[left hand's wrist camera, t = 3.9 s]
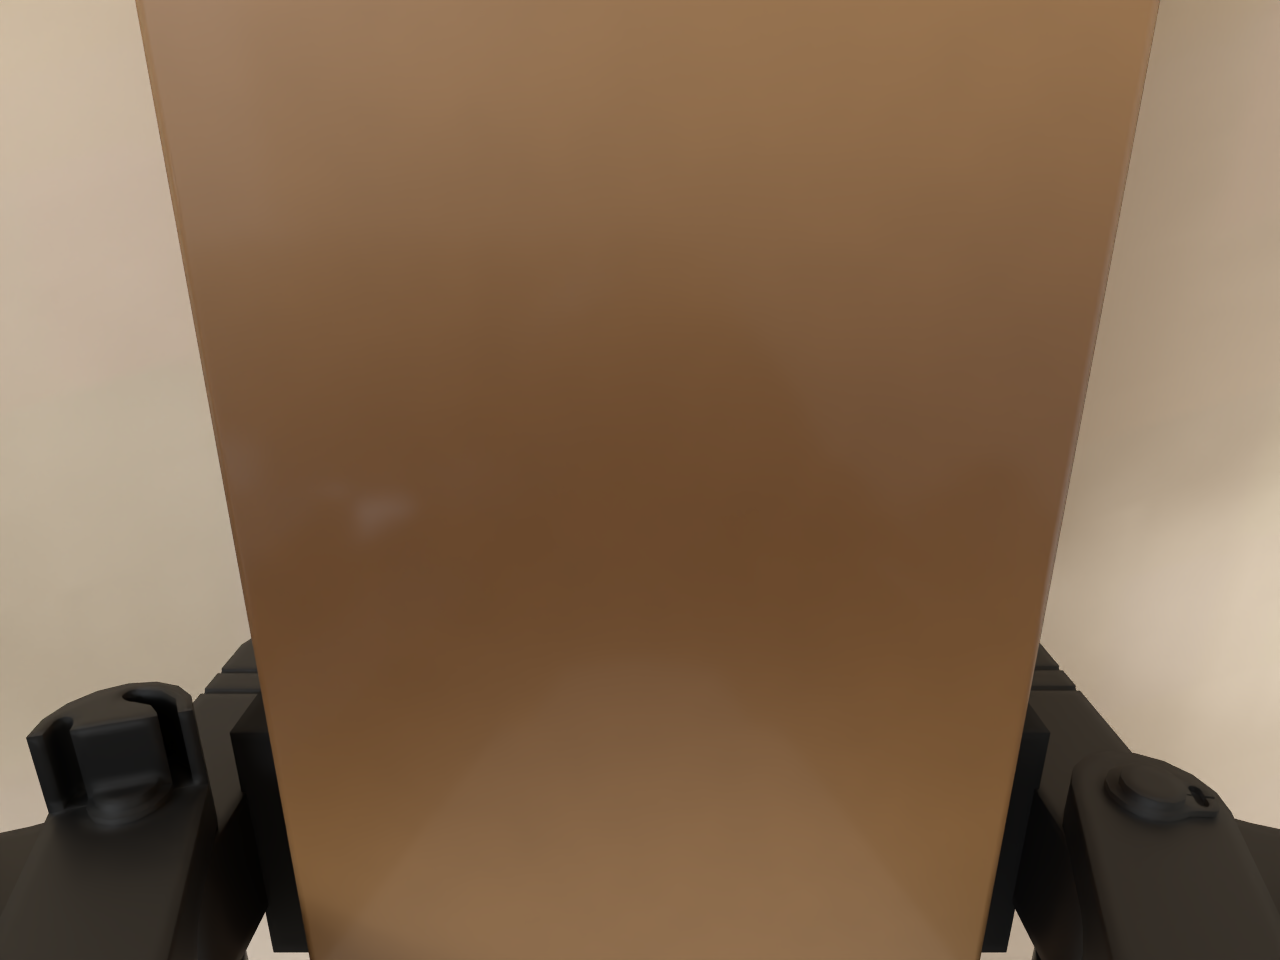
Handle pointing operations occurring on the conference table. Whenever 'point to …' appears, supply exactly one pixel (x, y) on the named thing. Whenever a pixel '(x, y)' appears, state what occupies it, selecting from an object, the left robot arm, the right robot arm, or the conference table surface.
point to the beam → (646, 446)
